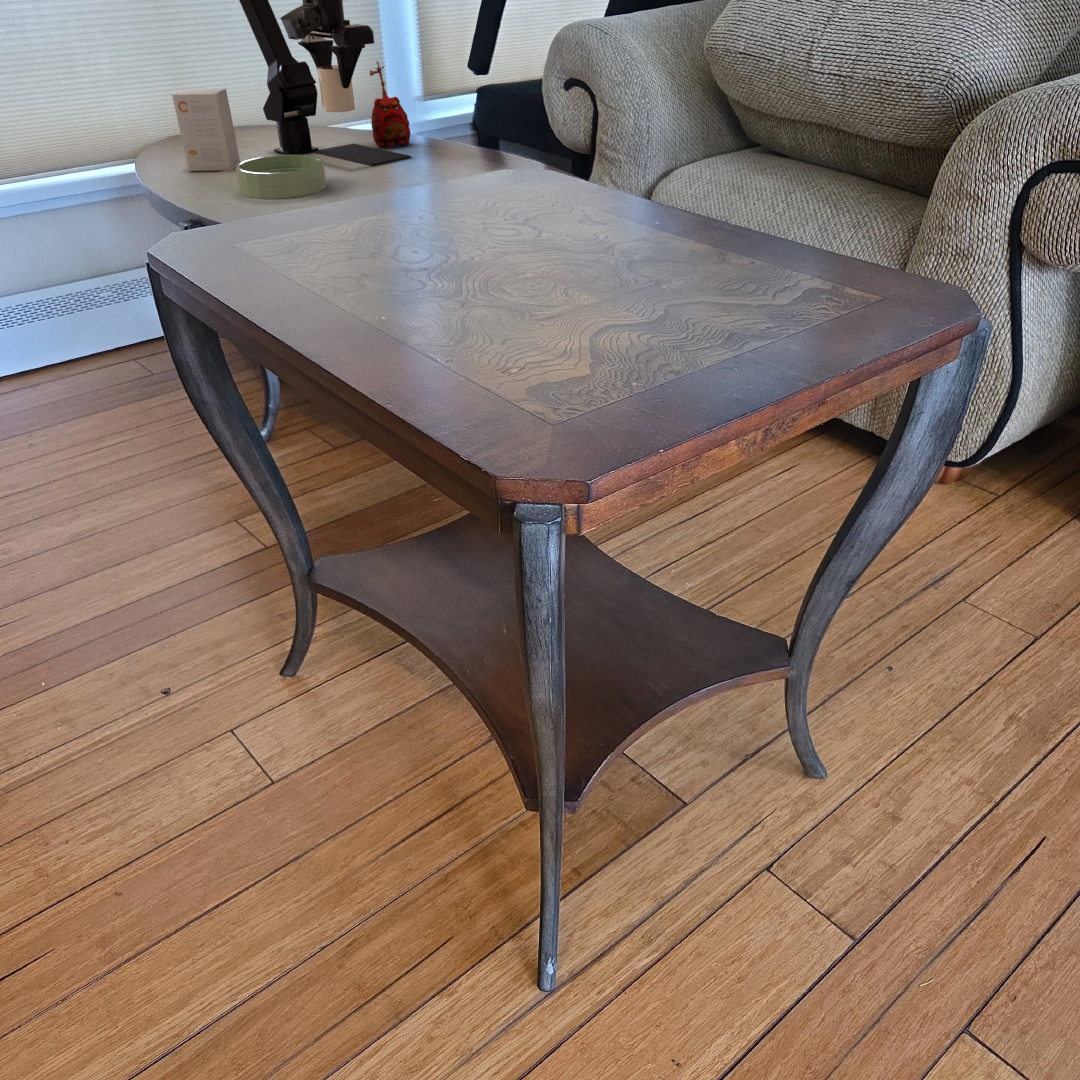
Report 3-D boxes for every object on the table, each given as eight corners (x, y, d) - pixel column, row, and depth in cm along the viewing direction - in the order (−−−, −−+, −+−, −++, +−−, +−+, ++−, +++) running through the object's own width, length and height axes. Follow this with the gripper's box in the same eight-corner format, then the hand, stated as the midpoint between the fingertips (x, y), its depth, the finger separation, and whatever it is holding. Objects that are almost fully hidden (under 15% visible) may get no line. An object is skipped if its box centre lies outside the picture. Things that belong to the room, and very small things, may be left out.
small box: (241, 163, 177) (227, 87, 170) (231, 171, 172) (216, 93, 165) (198, 164, 177) (182, 88, 170) (187, 171, 172) (171, 94, 165)
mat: (295, 157, 181) (294, 154, 181) (353, 145, 189) (353, 143, 189) (351, 170, 171) (351, 168, 170) (410, 157, 179) (410, 155, 179)
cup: (316, 109, 173) (311, 67, 169) (342, 105, 176) (337, 63, 172) (334, 113, 169) (329, 70, 165) (361, 109, 173) (356, 66, 169)
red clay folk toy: (380, 150, 185) (372, 66, 176) (367, 144, 190) (358, 62, 182) (416, 146, 188) (409, 62, 180) (402, 140, 193) (395, 59, 185)
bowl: (224, 193, 158) (219, 165, 156) (295, 178, 167) (291, 151, 164) (271, 207, 150) (266, 178, 147) (343, 190, 158) (340, 162, 156)
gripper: (254, -13, 162) (269, 86, 171) (315, -8, 151) (328, 97, 160) (308, -17, 169) (321, 79, 178) (371, -12, 158) (380, 89, 167)
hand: (336, 86), depth 170 cm, fingers closed on cup, 6 cm apart
